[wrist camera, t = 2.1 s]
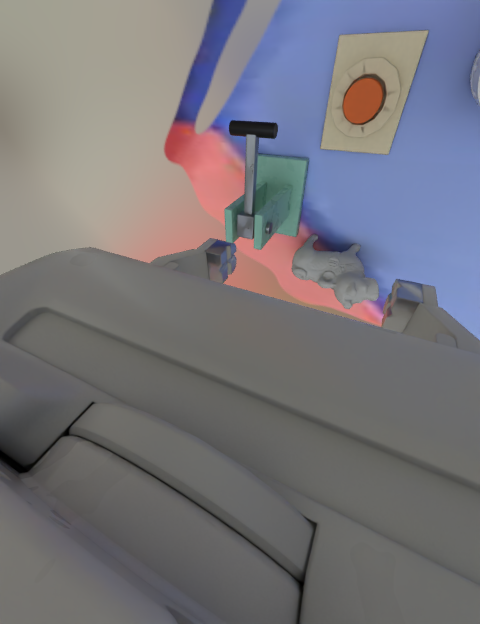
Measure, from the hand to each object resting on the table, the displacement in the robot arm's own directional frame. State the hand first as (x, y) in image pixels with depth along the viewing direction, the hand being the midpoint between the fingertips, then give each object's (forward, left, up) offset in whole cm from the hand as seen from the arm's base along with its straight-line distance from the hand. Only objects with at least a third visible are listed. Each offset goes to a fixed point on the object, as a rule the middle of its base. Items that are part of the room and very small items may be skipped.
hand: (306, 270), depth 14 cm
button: (-5, -2, -26) cm, 27 cm away
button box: (-5, -2, -29) cm, 29 cm away
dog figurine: (+14, 0, -29) cm, 32 cm away
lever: (+2, -11, -19) cm, 23 cm away
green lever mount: (+7, -11, -29) cm, 32 cm away
